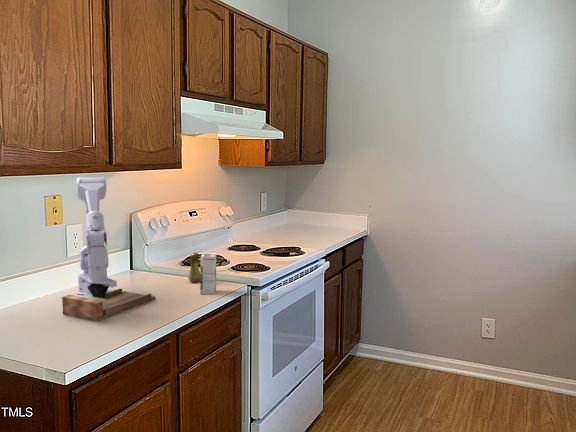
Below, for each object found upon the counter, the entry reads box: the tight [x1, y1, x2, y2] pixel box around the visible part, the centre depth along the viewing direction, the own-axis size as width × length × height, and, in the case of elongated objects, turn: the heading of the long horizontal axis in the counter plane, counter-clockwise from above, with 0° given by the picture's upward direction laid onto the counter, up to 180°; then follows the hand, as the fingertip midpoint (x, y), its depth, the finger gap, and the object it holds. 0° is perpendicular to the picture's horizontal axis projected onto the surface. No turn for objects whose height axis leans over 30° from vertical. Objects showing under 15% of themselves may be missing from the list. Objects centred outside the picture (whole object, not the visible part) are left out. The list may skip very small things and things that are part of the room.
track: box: [61, 288, 156, 322], centre depth 186 cm, size 15×28×6 cm, turn 153°
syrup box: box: [199, 253, 217, 295], centre depth 205 cm, size 6×6×14 cm
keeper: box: [79, 295, 107, 310], centre depth 178 cm, size 10×4×4 cm, turn 63°
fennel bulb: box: [188, 252, 200, 283], centre depth 220 cm, size 6×5×12 cm
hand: (99, 305), depth 182 cm, fingers closed, pressing on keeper
